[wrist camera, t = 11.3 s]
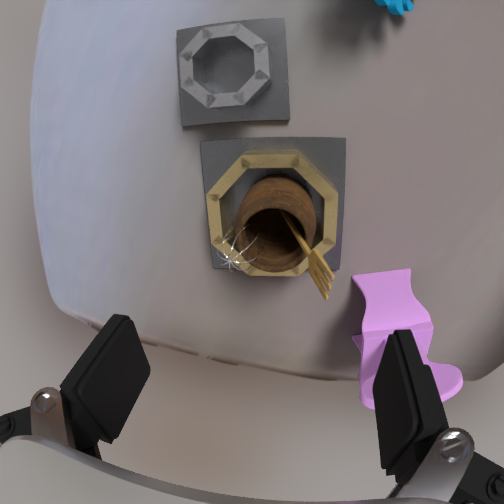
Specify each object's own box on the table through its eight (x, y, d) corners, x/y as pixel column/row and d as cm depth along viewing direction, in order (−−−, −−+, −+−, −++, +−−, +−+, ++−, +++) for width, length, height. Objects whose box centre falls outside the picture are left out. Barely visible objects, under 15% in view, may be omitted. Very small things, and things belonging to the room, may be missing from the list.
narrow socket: (284, 20, 19) (282, 6, 16) (289, 119, 23) (289, 120, 20) (179, 32, 20) (162, 22, 17) (184, 125, 24) (168, 128, 21)
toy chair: (343, 342, 32) (355, 459, 19) (341, 276, 29) (366, 403, 15) (410, 332, 31) (447, 440, 17) (419, 267, 27) (483, 377, 14)
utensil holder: (247, 168, 25) (210, 215, 14) (322, 179, 24) (345, 236, 13) (240, 233, 27) (206, 315, 16) (310, 243, 27) (318, 333, 16)
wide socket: (344, 138, 23) (352, 142, 20) (338, 266, 28) (343, 286, 25) (202, 140, 24) (188, 145, 21) (214, 264, 30) (205, 284, 26)
